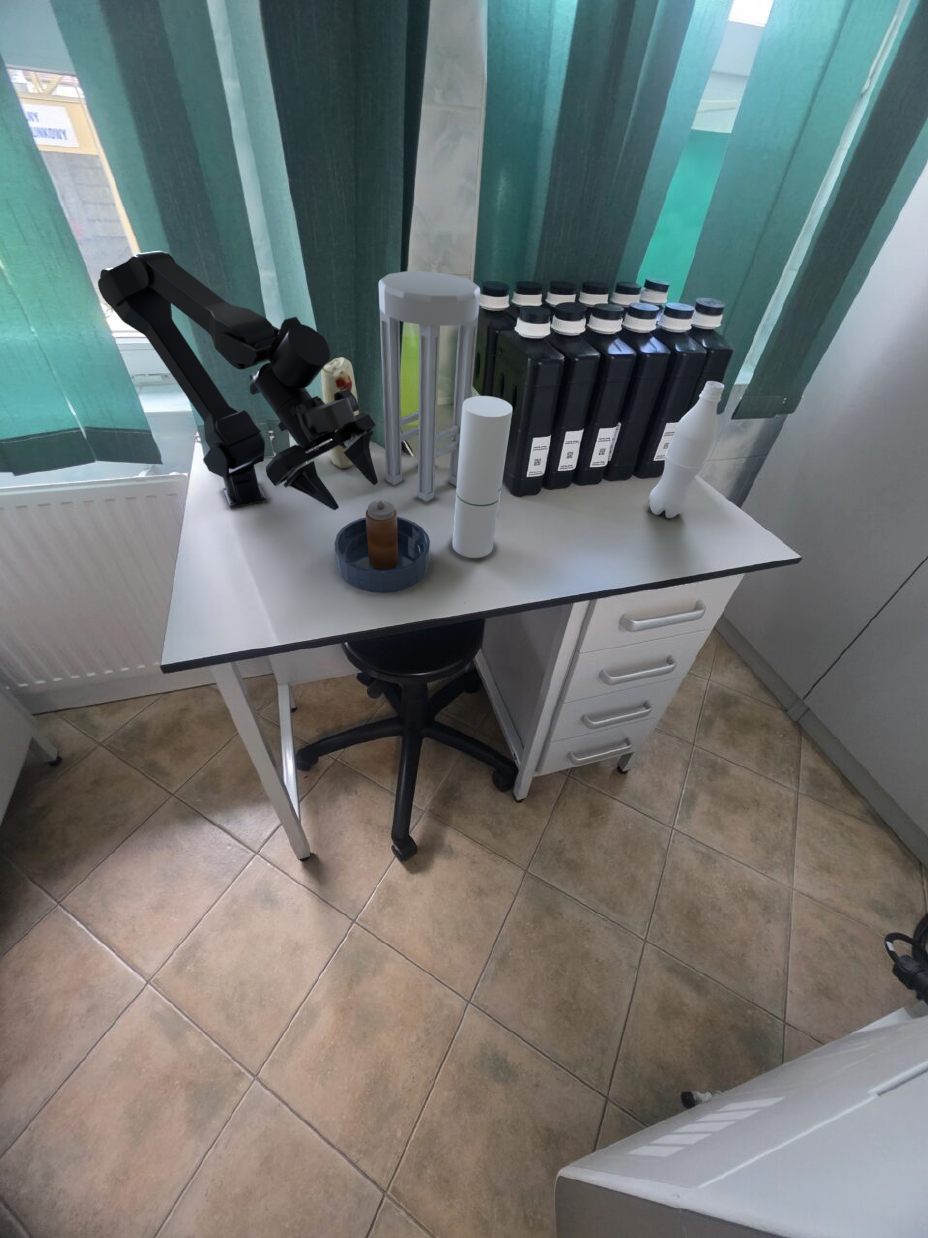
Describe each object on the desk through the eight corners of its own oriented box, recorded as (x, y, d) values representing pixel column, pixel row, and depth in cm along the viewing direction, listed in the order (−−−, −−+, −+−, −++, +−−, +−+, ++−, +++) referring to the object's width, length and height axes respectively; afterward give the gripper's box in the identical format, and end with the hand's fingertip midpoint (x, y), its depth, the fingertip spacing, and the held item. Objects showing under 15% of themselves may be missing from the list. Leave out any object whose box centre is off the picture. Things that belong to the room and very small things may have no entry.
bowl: (324, 549, 86) (321, 527, 83) (406, 528, 92) (406, 507, 89) (356, 605, 77) (354, 583, 74) (444, 578, 83) (446, 557, 80)
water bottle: (643, 514, 101) (692, 386, 84) (647, 497, 106) (695, 373, 88) (679, 524, 100) (737, 396, 82) (682, 507, 105) (737, 382, 87)
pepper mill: (364, 556, 85) (359, 496, 76) (391, 549, 87) (389, 490, 78) (375, 573, 82) (371, 512, 74) (402, 566, 84) (401, 505, 76)
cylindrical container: (497, 541, 91) (518, 402, 74) (485, 564, 86) (504, 420, 69) (460, 531, 93) (471, 392, 75) (446, 553, 88) (455, 410, 70)
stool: (478, 483, 105) (499, 286, 80) (426, 511, 96) (431, 300, 72) (425, 456, 112) (429, 266, 87) (371, 480, 103) (359, 276, 78)
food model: (359, 473, 104) (350, 371, 90) (326, 471, 104) (312, 369, 90) (364, 450, 111) (357, 353, 97) (333, 449, 111) (322, 350, 97)
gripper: (263, 394, 62) (340, 502, 66) (362, 356, 74) (423, 450, 78) (234, 436, 70) (305, 530, 75) (328, 396, 82) (384, 479, 86)
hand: (357, 495), depth 78 cm, fingers open, 9 cm apart
